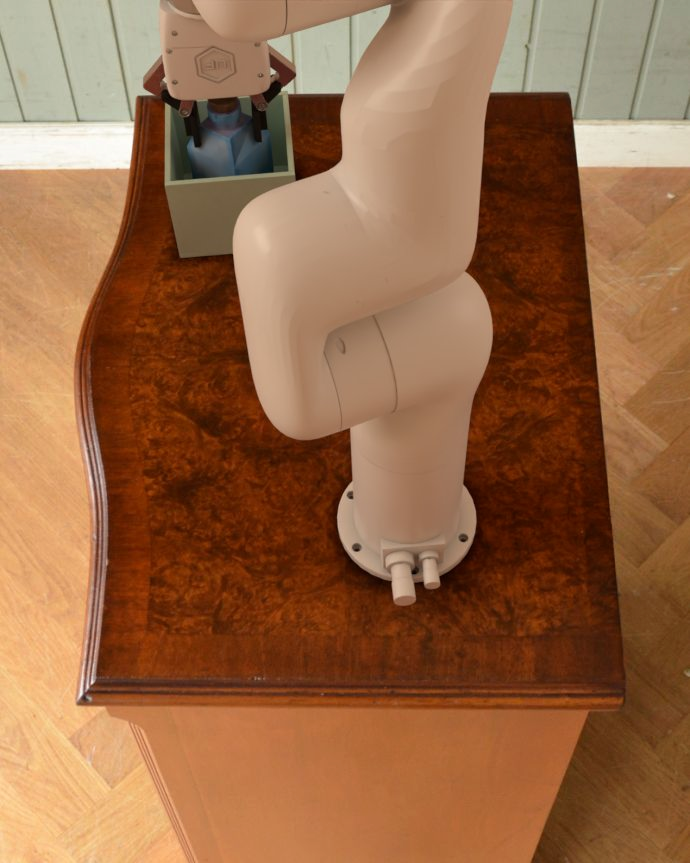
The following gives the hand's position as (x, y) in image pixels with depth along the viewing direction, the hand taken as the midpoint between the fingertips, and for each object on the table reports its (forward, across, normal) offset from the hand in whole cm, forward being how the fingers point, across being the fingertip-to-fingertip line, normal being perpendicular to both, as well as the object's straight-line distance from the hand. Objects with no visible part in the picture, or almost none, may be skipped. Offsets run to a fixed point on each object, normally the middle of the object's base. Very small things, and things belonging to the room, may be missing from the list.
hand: (228, 134), depth 120 cm
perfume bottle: (+7, 0, 0) cm, 7 cm away
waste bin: (+11, 0, 0) cm, 11 cm away
